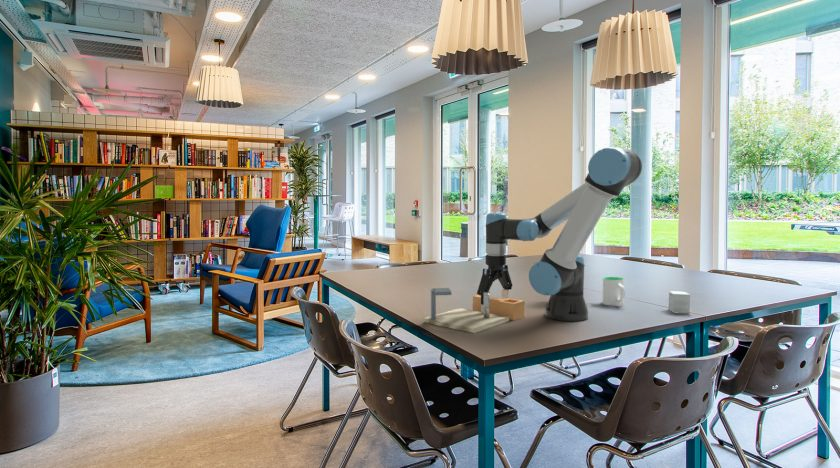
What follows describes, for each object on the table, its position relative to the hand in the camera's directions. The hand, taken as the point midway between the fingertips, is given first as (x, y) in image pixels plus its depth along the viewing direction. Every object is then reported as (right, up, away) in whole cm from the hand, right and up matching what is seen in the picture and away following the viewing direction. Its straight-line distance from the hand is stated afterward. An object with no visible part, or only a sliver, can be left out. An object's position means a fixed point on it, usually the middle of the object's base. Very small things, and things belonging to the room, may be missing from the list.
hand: (495, 310), depth 194 cm
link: (0, -1, -1) cm, 2 cm away
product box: (+71, -1, +3) cm, 71 cm away
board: (-12, -2, -11) cm, 16 cm away
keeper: (-21, -1, -13) cm, 24 cm away
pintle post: (-5, -1, -12) cm, 12 cm away
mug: (+51, 0, +16) cm, 54 cm away
